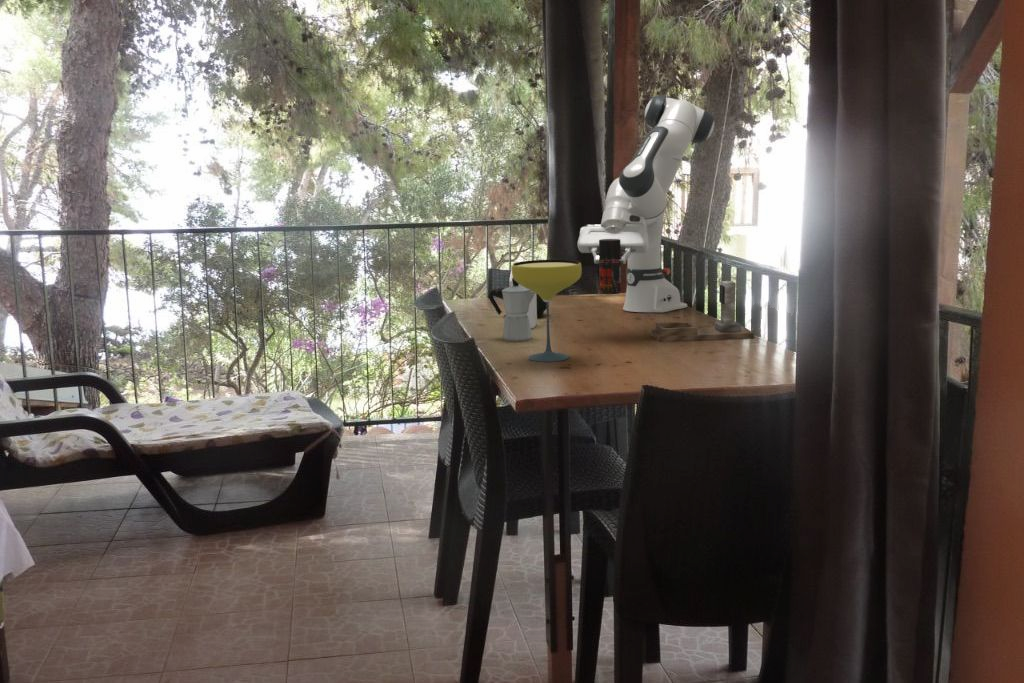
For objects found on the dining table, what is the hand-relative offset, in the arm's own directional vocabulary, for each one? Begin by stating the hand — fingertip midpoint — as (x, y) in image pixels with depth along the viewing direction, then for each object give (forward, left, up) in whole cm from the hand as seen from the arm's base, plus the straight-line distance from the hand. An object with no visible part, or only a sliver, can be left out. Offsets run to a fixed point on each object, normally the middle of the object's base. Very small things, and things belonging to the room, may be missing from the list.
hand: (609, 262), depth 272 cm
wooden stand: (-23, +13, -22) cm, 35 cm away
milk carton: (+7, -34, -22) cm, 42 cm away
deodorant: (0, 0, -9) cm, 9 cm away
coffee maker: (+20, -20, -22) cm, 36 cm away
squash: (-5, -50, -22) cm, 55 cm away
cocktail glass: (+28, +9, -22) cm, 37 cm away
